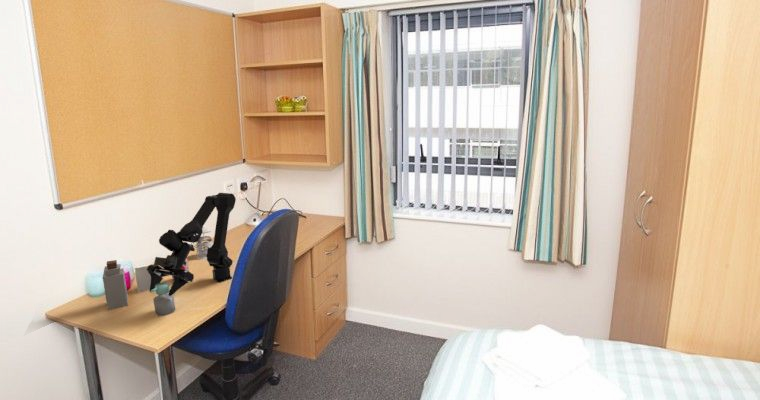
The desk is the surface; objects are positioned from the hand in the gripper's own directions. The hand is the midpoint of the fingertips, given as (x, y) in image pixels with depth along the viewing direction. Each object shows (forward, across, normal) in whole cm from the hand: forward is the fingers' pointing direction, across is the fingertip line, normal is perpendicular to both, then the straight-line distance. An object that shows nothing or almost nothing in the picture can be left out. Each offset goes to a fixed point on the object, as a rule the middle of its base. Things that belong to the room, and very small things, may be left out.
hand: (159, 293), depth 167 cm
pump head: (+1, 0, +2) cm, 2 cm away
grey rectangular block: (-5, -24, +16) cm, 29 cm away
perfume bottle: (+6, -23, +6) cm, 24 cm away
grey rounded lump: (+5, 0, +7) cm, 8 cm away
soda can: (-13, -17, +25) cm, 33 cm away
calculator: (-16, -30, +28) cm, 44 cm away
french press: (-33, -29, +45) cm, 63 cm away
